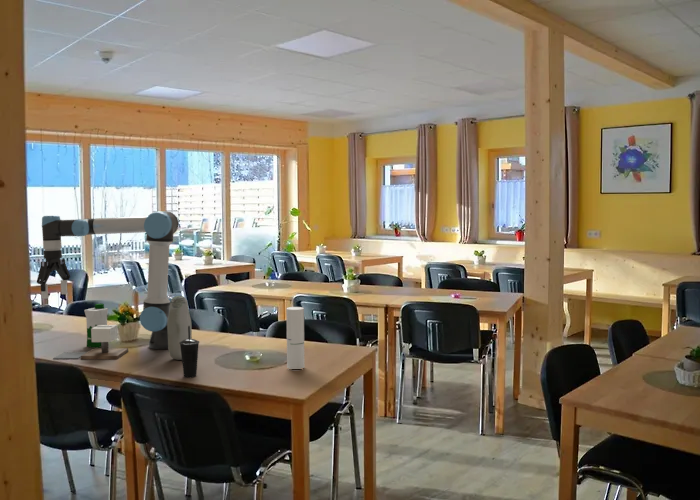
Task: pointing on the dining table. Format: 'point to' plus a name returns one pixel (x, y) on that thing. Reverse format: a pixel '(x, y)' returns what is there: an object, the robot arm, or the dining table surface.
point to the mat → (70, 355)
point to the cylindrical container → (295, 337)
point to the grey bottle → (178, 325)
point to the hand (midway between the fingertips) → (54, 296)
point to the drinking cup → (189, 356)
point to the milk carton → (95, 322)
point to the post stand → (105, 352)
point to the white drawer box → (104, 333)
